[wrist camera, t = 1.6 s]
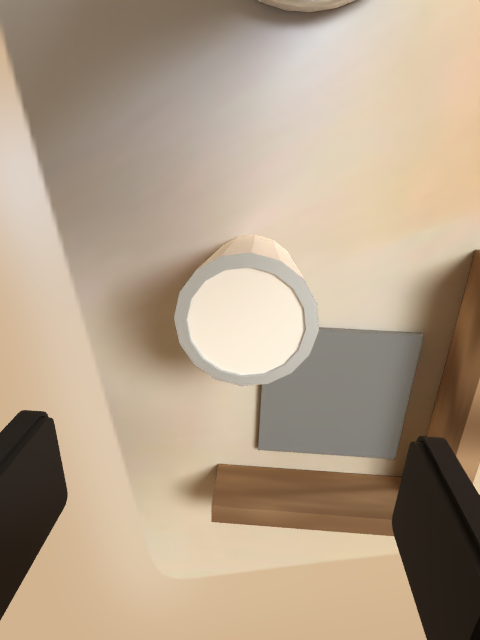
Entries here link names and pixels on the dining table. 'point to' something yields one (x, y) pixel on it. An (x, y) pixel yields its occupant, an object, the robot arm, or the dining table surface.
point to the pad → (343, 395)
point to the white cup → (247, 313)
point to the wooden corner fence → (360, 489)
